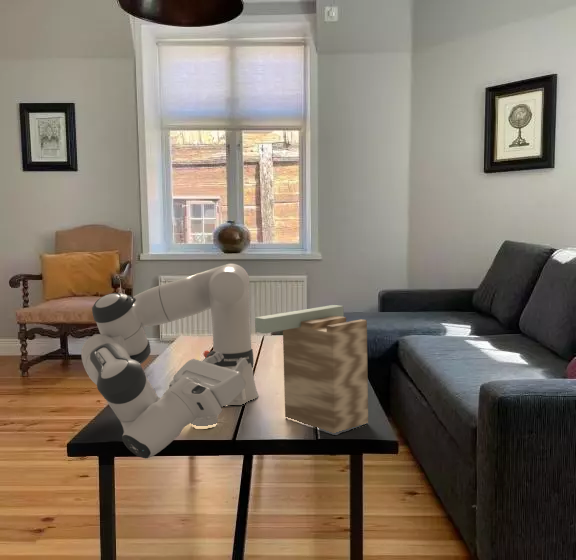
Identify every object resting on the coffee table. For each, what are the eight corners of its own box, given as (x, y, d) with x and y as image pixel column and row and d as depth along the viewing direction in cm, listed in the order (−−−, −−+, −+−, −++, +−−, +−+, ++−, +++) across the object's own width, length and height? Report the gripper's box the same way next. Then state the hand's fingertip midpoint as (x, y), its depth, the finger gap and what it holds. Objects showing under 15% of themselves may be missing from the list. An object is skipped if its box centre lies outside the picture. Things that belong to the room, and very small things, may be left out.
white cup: (221, 420, 162) (219, 382, 161) (218, 430, 154) (217, 391, 153) (190, 421, 162) (189, 383, 161) (187, 431, 154) (185, 392, 153)
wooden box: (334, 436, 148) (332, 326, 145) (285, 419, 161) (282, 318, 158) (368, 424, 155) (366, 320, 153) (318, 408, 169) (316, 312, 166)
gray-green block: (264, 333, 147) (264, 318, 146) (255, 331, 149) (255, 317, 149) (343, 319, 164) (343, 306, 164) (334, 317, 167) (334, 304, 167)
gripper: (172, 398, 145) (213, 360, 152) (222, 417, 129) (265, 374, 136) (158, 377, 142) (201, 340, 149) (208, 395, 127) (253, 352, 134)
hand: (232, 357), depth 143 cm, fingers open, 8 cm apart
